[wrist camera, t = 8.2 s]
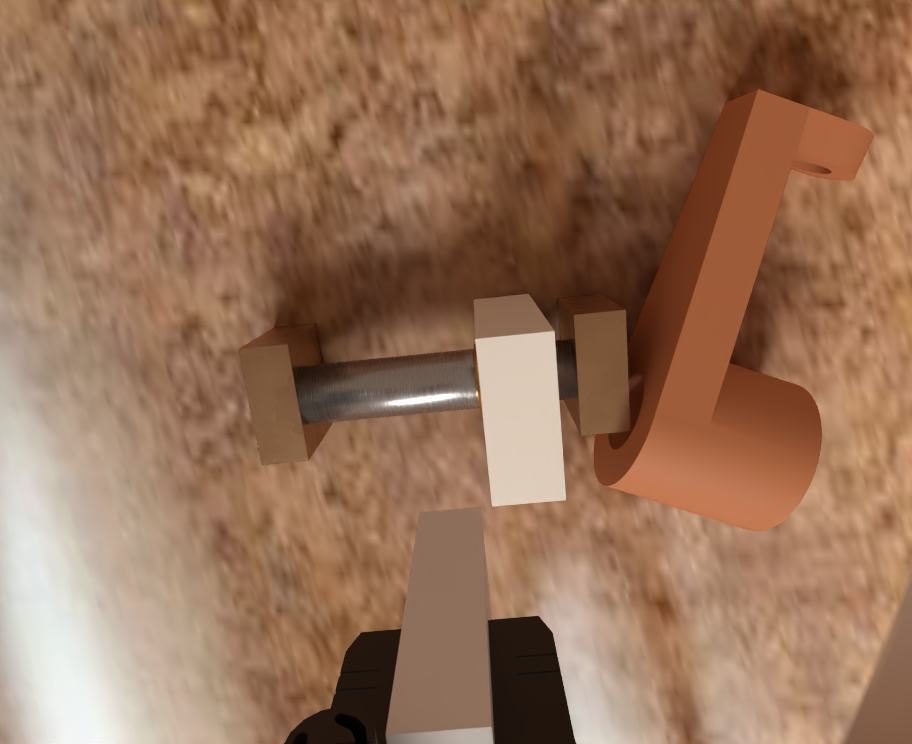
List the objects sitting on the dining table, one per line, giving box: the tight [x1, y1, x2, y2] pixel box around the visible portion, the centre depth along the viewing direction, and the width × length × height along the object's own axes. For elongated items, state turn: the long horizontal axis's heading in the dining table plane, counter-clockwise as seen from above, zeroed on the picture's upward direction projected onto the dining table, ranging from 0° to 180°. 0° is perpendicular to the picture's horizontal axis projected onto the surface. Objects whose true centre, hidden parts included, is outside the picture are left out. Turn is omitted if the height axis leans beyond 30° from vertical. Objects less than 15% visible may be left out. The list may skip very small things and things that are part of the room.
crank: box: [594, 89, 874, 531], centre depth 30 cm, size 20×8×8 cm, turn 162°
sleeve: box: [474, 294, 566, 506], centre depth 29 cm, size 3×7×11 cm, turn 6°
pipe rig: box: [238, 294, 630, 465], centre depth 32 cm, size 18×6×6 cm, turn 96°
